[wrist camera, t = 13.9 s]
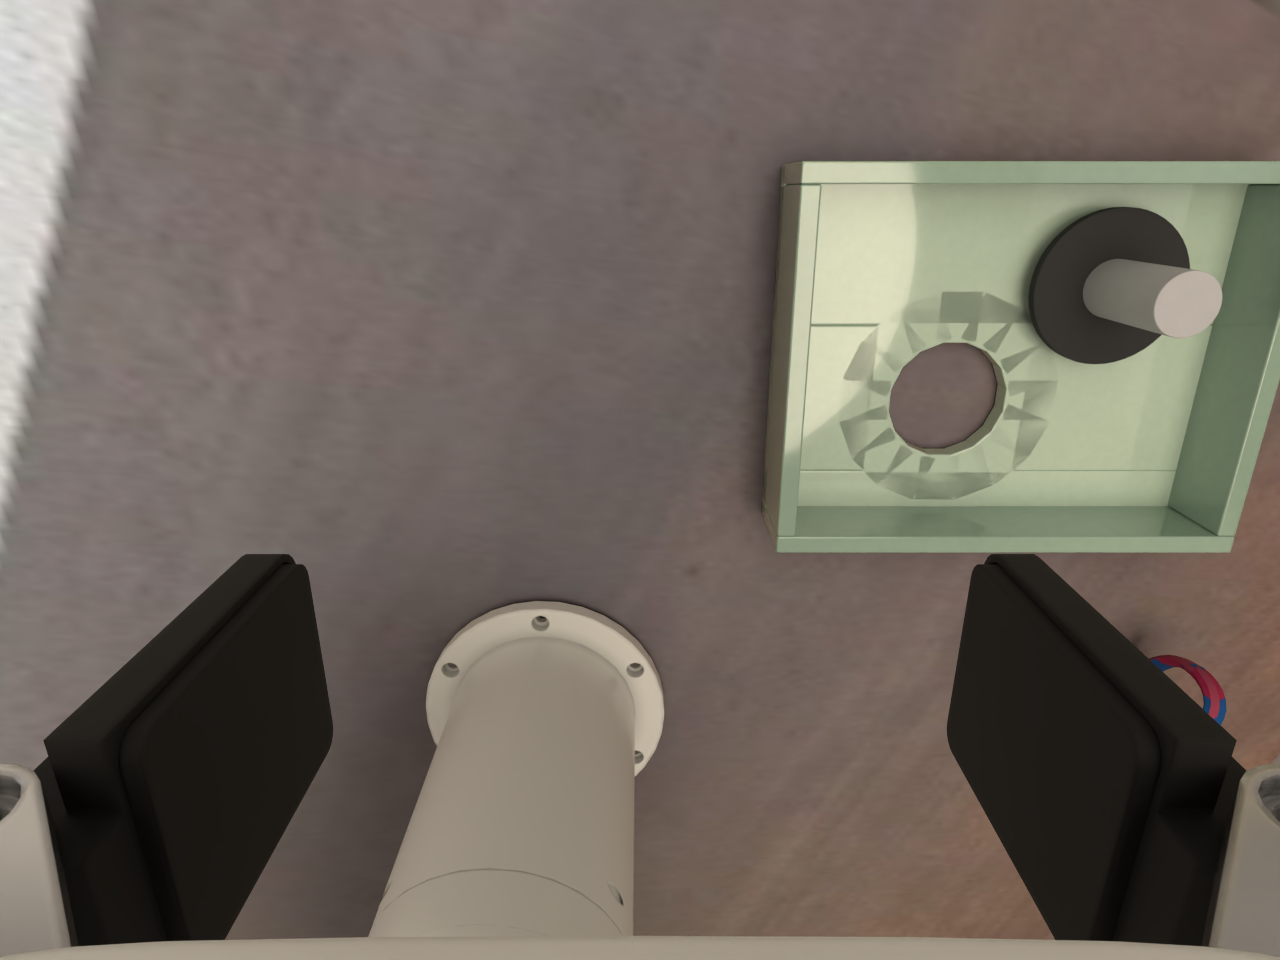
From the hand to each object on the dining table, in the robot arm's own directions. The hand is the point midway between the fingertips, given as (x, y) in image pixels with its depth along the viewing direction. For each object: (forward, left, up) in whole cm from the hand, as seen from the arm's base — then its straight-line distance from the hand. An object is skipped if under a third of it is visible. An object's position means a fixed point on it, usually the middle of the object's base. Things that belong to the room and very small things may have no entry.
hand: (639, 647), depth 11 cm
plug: (+2, -20, -25) cm, 32 cm away
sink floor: (-1, -16, -26) cm, 31 cm away
